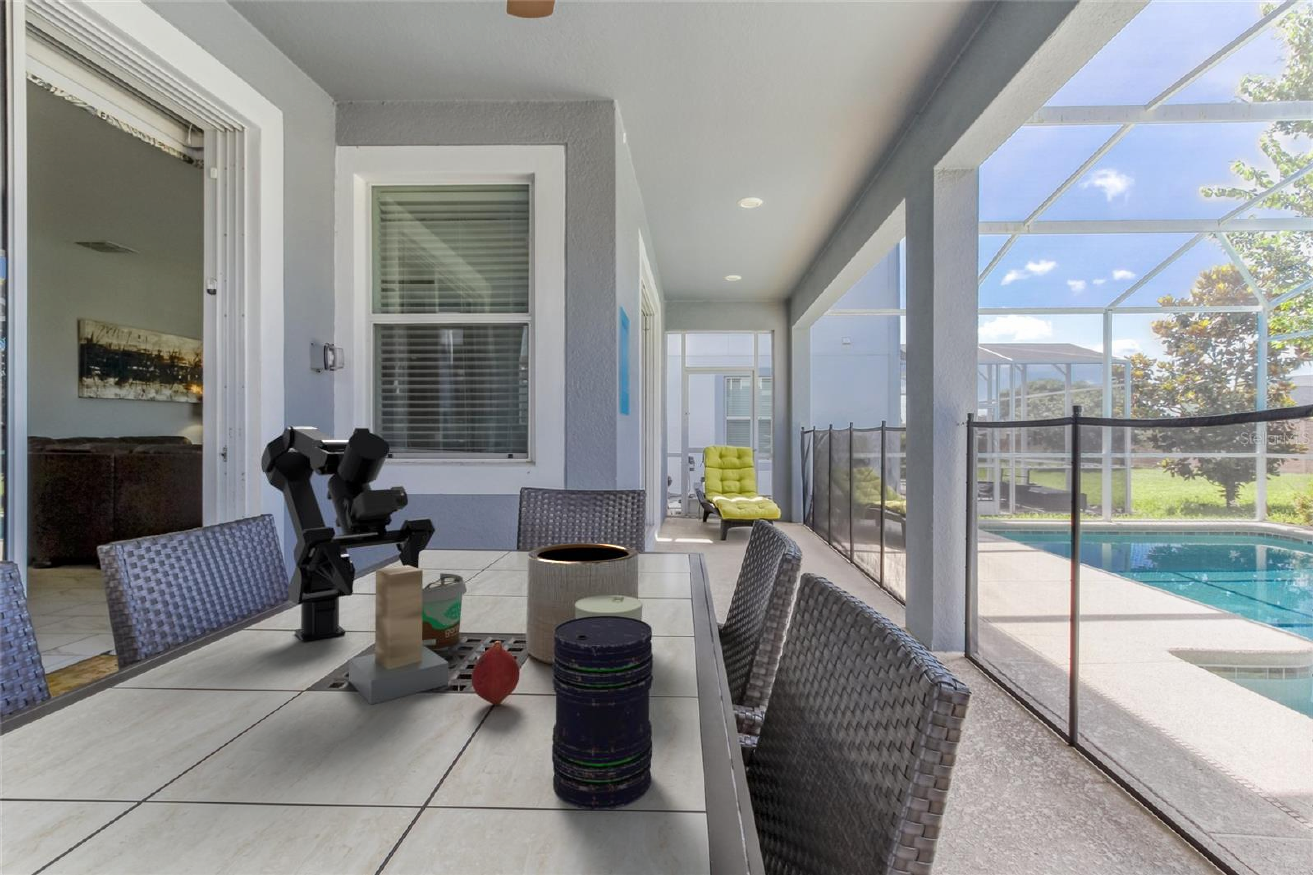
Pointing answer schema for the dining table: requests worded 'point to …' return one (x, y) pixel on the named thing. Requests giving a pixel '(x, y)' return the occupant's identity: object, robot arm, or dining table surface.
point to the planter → (572, 586)
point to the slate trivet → (397, 676)
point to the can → (609, 606)
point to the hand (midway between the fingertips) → (384, 588)
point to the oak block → (398, 616)
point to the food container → (442, 611)
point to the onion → (495, 674)
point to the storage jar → (602, 711)
